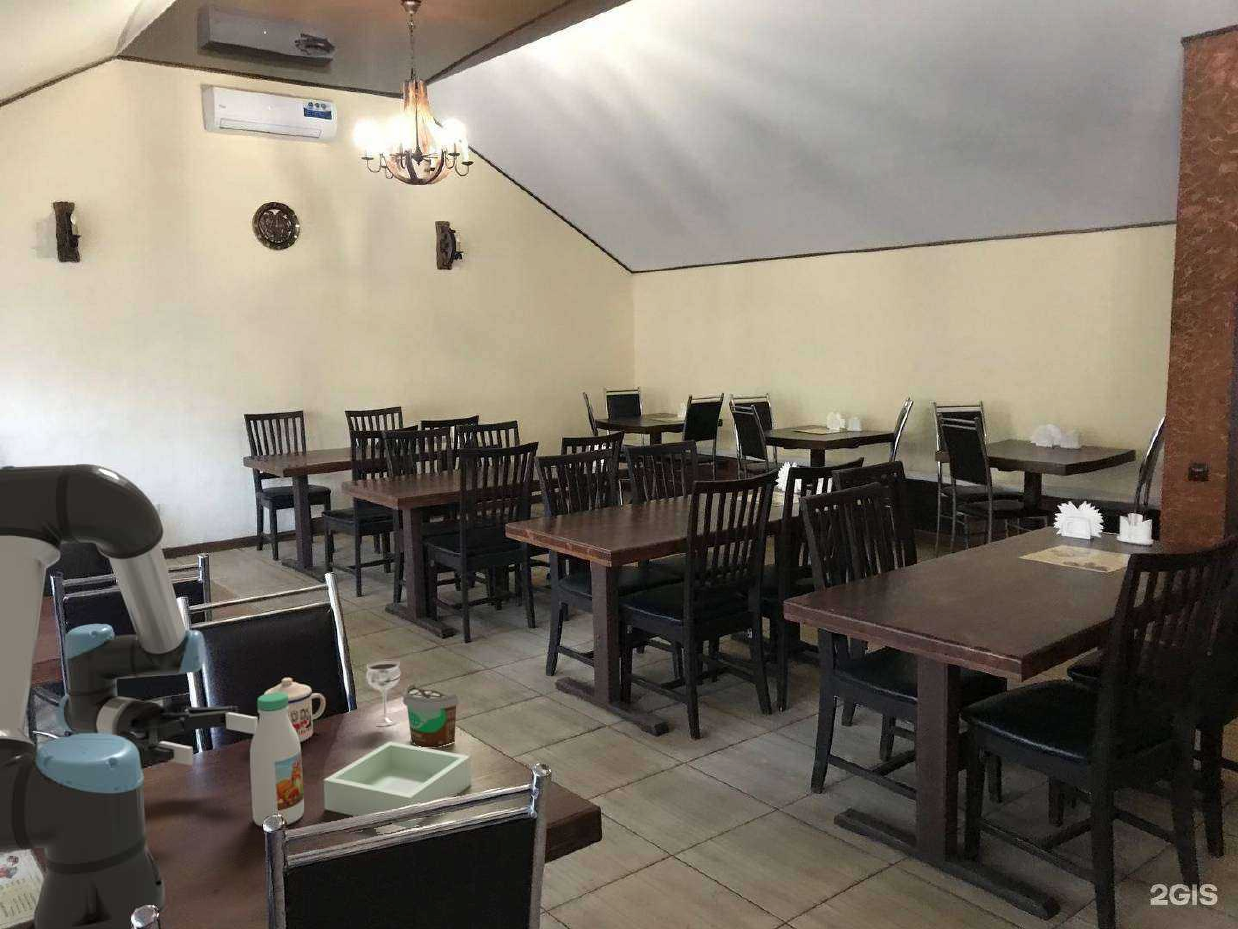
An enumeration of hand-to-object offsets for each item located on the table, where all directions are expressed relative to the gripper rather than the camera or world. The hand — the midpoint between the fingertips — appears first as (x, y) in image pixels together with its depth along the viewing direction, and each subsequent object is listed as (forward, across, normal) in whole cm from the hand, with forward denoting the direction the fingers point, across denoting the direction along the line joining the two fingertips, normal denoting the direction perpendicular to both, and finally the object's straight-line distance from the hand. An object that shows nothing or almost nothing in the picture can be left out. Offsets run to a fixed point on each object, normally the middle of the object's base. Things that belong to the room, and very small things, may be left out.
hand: (225, 740), depth 156 cm
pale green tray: (+24, -13, -11) cm, 30 cm away
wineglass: (+1, -40, -12) cm, 42 cm away
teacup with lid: (-11, -28, -12) cm, 32 cm away
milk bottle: (+11, 0, -11) cm, 16 cm away
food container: (+15, -34, -11) cm, 39 cm away
